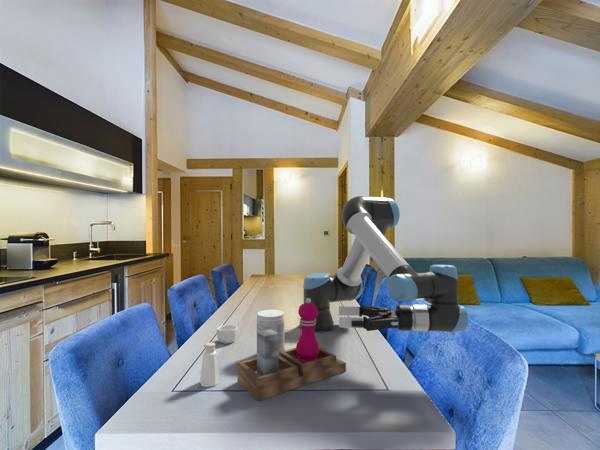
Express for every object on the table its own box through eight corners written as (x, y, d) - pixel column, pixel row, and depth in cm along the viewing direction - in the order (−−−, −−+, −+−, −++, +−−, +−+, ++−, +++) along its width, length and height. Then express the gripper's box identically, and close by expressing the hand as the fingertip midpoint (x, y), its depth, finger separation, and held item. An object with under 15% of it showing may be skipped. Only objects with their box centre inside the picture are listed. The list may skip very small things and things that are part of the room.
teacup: (233, 346, 120) (233, 331, 120) (213, 344, 122) (213, 330, 122) (241, 337, 130) (241, 323, 130) (223, 336, 131) (223, 322, 131)
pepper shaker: (212, 376, 96) (212, 339, 96) (223, 382, 92) (223, 343, 92) (195, 383, 92) (196, 344, 92) (207, 389, 88) (207, 348, 88)
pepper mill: (294, 359, 102) (295, 295, 103) (317, 358, 103) (318, 295, 103) (296, 369, 95) (297, 300, 96) (321, 368, 96) (321, 300, 96)
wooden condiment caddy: (320, 357, 110) (320, 314, 110) (345, 370, 100) (346, 323, 100) (237, 381, 92) (237, 330, 93) (258, 401, 82) (258, 343, 82)
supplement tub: (278, 348, 118) (278, 308, 118) (289, 358, 109) (289, 314, 110) (252, 353, 114) (253, 310, 114) (261, 363, 105) (262, 317, 105)
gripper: (422, 344, 84) (339, 342, 87) (402, 319, 109) (338, 317, 112) (421, 315, 85) (339, 314, 87) (402, 296, 109) (338, 295, 112)
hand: (339, 316), depth 99 cm, fingers open, 13 cm apart
